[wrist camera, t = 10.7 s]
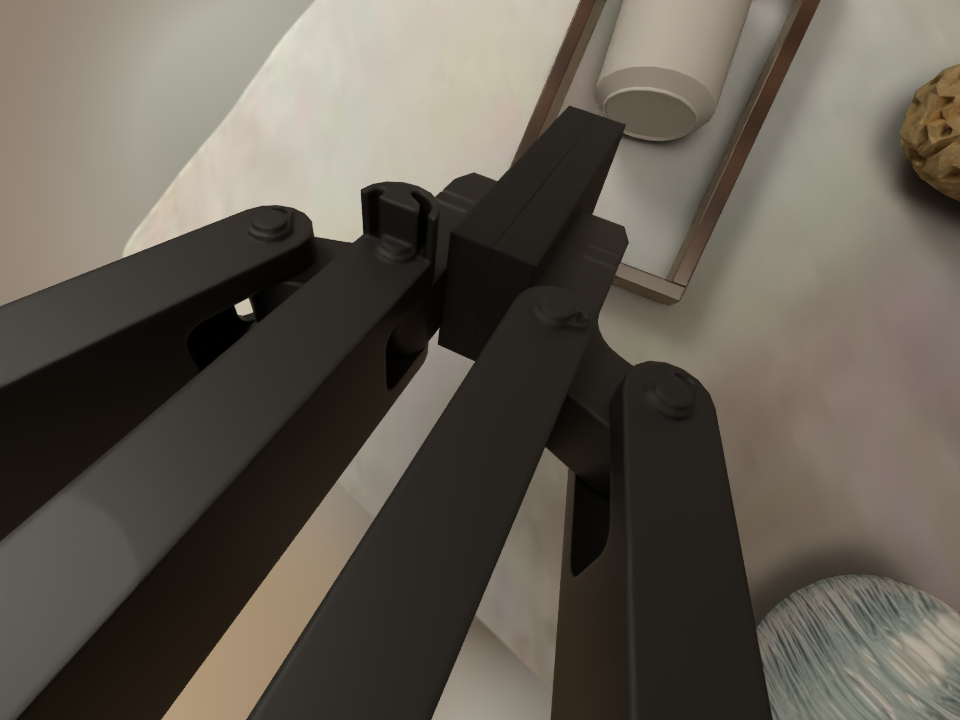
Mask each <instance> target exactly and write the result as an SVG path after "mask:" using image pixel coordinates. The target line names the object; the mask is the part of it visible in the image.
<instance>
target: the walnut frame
mask: <svg viewBox="0 0 960 720" xmlns="http://www.w3.org/2000/svg"><path fill="white" fill-rule="evenodd" d="M605 1H606V0H580V2H579V4H578V7H577V9H576V11H575V14H574V16H573V19H572V21H571V23H570V26H569V28H568V31H567V33H566V35H565V38H564V40H563V42H562V45H561V47H560V50H559V52H558V54H557V57H556V59H555V62H554V64H553V66H552V69H551V71H550V74H549V76H548V78H547V81H546V83H545V85H544V88H543V90H542V93H541V95H540V97H539V100H538V102H537V105H536V107H535V109H534V112H533V114H532V116H531V119H530V121H529V124H528V126H527V128H526V131H525V133H524V136H523V138H522V140H521V143H520V145H519V148H518V150H517V152H516V155H515V157H514V159H513V162H512V164H511V167H512V166H513V165H514V164H515V163H516V162H517V160H518V159H519V158H520V157H521V156H522V155H523V154H524V153H525V152H526V151H527V150H528V149H529V148H530V147H531V146H532V145H533V144H534V142H535V141H536V140H537V139H538V138H539V137H540V136H541V135H542V134H543V133H544V132H545V131H546V130H547V129H548V128H549V127H550V126H551V125H552V123H553V122H554V121H555V119H556V117H557V115H558V112H559V110H560V108H561V105H562V103H563V100H564V98H565V96H566V93H567V91H568V89H569V86H570V84H571V82H572V79H573V77H574V75H575V72H576V70H577V67H578V65H579V63H580V60H581V58H582V56H583V53H584V51H585V49H586V46H587V44H588V42H589V39H590V37H591V34H592V32H593V30H594V27H595V25H596V23H597V20H598V18H599V16H600V13H601V11H602V8H603V6H604V4H605ZM819 3H820V0H795V2H794V4H793V6H792V9H791V11H790V13H789V15H788V17H787V19H786V22H785V24H784V26H783V28H782V30H781V32H780V35H779V37H778V39H777V41H776V43H775V45H774V47H773V50H772V52H771V54H770V56H769V58H768V60H767V63H766V65H765V67H764V69H763V71H762V73H761V76H760V78H759V80H758V82H757V84H756V86H755V89H754V91H753V93H752V95H751V97H750V99H749V102H748V104H747V106H746V108H745V110H744V112H743V114H742V117H741V119H740V121H739V123H738V125H737V127H736V130H735V132H734V134H733V136H732V138H731V140H730V143H729V145H728V147H727V149H726V151H725V153H724V156H723V158H722V160H721V162H720V164H719V166H718V169H717V171H716V173H715V175H714V177H713V179H712V181H711V184H710V186H709V188H708V190H707V192H706V194H705V197H704V199H703V201H702V203H701V205H700V207H699V210H698V212H697V214H696V216H695V218H694V220H693V223H692V225H691V227H690V229H689V231H688V233H687V236H686V238H685V240H684V242H683V244H682V246H681V248H680V251H679V253H678V255H677V257H676V259H675V261H674V264H673V266H672V268H671V270H670V272H669V274H668V277H667V279H666V280H665V279H663V278H660V277H657V276H655V275H652V274H650V273H647V272H644V271H642V270H639V269H637V268H634V267H632V266H629V265H626V264H624V263H621V262H620V265H619V267H618V269H617V272H616V274H615V277H614V279H613V281H612V284H615V285H617V286H620V287H622V288H625V289H628V290H630V291H633V292H635V293H638V294H640V295H643V296H645V297H648V298H650V299H653V300H655V301H658V302H660V303H663V304H665V305H668V306H670V305H672V304H675V303H677V302H679V301H680V300H681V298H682V296H683V293H684V291H685V289H686V288H685V287H687V285H688V283H689V281H690V278H691V276H692V274H693V272H694V270H695V268H696V266H697V263H698V261H699V259H700V257H701V255H702V253H703V251H704V248H705V246H706V244H707V242H708V240H709V238H710V236H711V233H712V231H713V229H714V227H715V225H716V223H717V221H718V219H719V216H720V214H721V212H722V210H723V208H724V206H725V204H726V201H727V199H728V197H729V195H730V193H731V191H732V189H733V186H734V184H735V182H736V180H737V178H738V176H739V174H740V171H741V169H742V167H743V165H744V163H745V161H746V159H747V157H748V154H749V152H750V150H751V148H752V146H753V144H754V142H755V139H756V137H757V135H758V133H759V131H760V129H761V127H762V124H763V122H764V120H765V118H766V116H767V114H768V112H769V110H770V107H771V105H772V103H773V101H774V99H775V97H776V95H777V92H778V90H779V88H780V86H781V84H782V82H783V80H784V77H785V75H786V73H787V71H788V69H789V67H790V65H791V62H792V60H793V58H794V56H795V54H796V52H797V50H798V48H799V45H800V43H801V41H802V39H803V37H804V35H805V33H806V30H807V28H808V26H809V24H810V22H811V20H812V18H813V15H814V13H815V11H816V9H817V7H818V5H819ZM511 167H510V168H511Z"/></svg>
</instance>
